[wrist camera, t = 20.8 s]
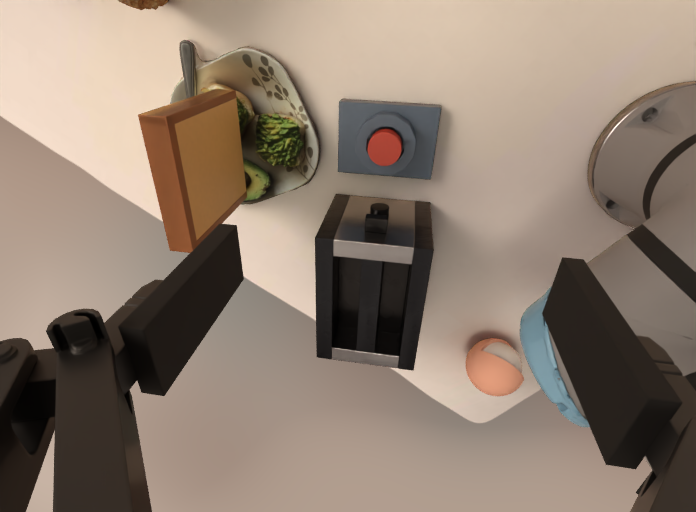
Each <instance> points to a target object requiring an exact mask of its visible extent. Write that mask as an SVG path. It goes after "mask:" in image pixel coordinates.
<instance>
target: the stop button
mask: <svg viewBox="0 0 696 512" xmlns="http://www.w3.org/2000/svg"><path fill="white" fill-rule="evenodd" d="M401 150H402V141H401V138H400V136H399V135H398V134H397V133H396V132H395V131H394V130H391V129H380V130H378V131H376V132H375V133H374V134H373V135H372V137H371V139H370V141H369V144H368V155H369V157H370V159H371V160H372V161H373V162H374V163H376V164H378V165H380V166H388V165H391V164H393V163H395V162H396V161H397V160H398V159H399V157H400V155H401Z"/></svg>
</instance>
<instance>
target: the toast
mask: <svg viewBox="0 0 696 512" xmlns="http://www.w3.org/2000/svg"><path fill="white" fill-rule="evenodd" d="M236 98H237V97H236V90H225V89H214V90H211V91H208V92H205V93H202V94H199V95H196V96H193V97H190V98H187V99H184V100H181V101H178V102H175V103H172V104H169V105H166V106H163V107H160V108H157V109H154V110H151V111H148V112H145V113H142V114H139V115H138V117H139V121H140V125H141V130H142V134H143V138H144V142H145V146H146V151H147V155H148V159H149V163H150V168H151V172H152V176H153V180H154V185H155V189H156V193H157V197H158V202H159V206H160V210H161V214H162V219H163V223H164V227H165V231H166V236H167V240H168V244H169V248H170V251H179V252H188V253H191V252H192V251H193V250H194V249H195V248H196V247H197V246H198V245H199V244H200V243H201V242H202V241H203V240H204V239H205V238H206V237H207V236H208V235H209V234H210V233H211V232H212V231H213V230H214V229H215V228H216V227H217V226H218V225H219V224H222V223H223V222H224V221H225V220H226V219H227V218H228V217H229V216H230V215H231V213H232V212H233V211H234V210H235V209H236V208H237V207H238V206H239V205H240V204H241V203H242V202H243V201H244V200H245V199H246V198H247V191H246V183H245V174H244V164H243V155H242V146H241V137H240V128H239V119H238V109H237V100H236Z"/></svg>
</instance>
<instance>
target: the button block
mask: <svg viewBox="0 0 696 512" xmlns="http://www.w3.org/2000/svg"><path fill="white" fill-rule="evenodd" d="M440 113H441V106H440V105H435V104H418V103H401V102H385V101H368V100H352V99H341V100H340V101H339V141H338V172H345V173H357V174H370V175H382V176H394V177H406V178H418V179H431V174H432V167H433V161H434V154H435V147H436V140H437V133H438V127H439V120H440ZM380 129H391V130H394V131H395V132H396V133H397V134H398V135H399V136H400V138H401V141H402V150H401V155H400V157H399V159H398V160H397V161H396V162H395V163H393V164H391V165H388V166H380V165H378V164H376V163H374V162H373V161H372V160H371V159H370V157H369V155H368V144H369V141H370V139H371V137H372V135H373V134H374V133H375V132H376V131H378V130H380Z"/></svg>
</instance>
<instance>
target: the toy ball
mask: <svg viewBox="0 0 696 512" xmlns="http://www.w3.org/2000/svg"><path fill="white" fill-rule="evenodd" d="M466 371H467V374H468V377H469V379H470V380H471V382H472V383H473V384H474V386H475V387H476V388H478V389H479V390H480V391H482V392H484V393H486V394H488V395H492V396H504V395H508V394H511V393H512V392H514V391H515V390H517V389H518V388H519V387H520V385H521V384H522V382H523V381H524V377H523V375H522V362H521V358H520V356H519V354H518V353H517V352H516V351H515V350H514V349H513V348H512V347H511V345H510V344H509V343H508V342H506V341H505V340H502V339H496V338H490V339H485V340H482V341H480V342H478V343H477V344H475V345H474V346H473V347H472V348H471V350H470V351H469V352H468V355H467V358H466Z"/></svg>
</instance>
